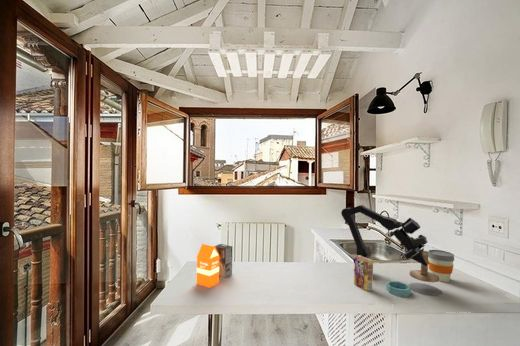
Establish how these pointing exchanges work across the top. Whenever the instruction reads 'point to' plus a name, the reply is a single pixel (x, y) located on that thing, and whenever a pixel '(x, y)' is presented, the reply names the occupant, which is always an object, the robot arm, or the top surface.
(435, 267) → the reusable coffee cup
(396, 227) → the robot arm
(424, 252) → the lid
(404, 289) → the bowl
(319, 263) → the top surface
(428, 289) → the mat
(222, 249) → the coffee box
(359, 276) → the candy box
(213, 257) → the orange juice
